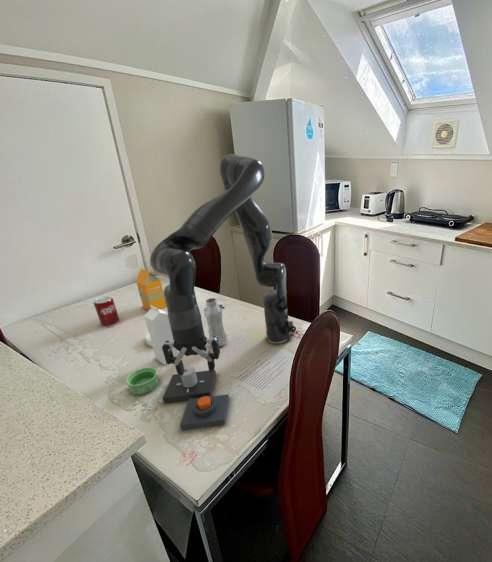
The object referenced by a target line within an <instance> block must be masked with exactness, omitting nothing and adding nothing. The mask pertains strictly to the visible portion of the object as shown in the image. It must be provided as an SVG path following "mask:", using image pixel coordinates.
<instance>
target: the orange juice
mask: <svg viewBox="0 0 492 562" xmlns="http://www.w3.org/2000/svg"><path fill="white" fill-rule="evenodd" d="M135 282H136V286H137V290H138V294H139V297H140V300H141V305H142V307H143V308H144V309H145V310H147V311H149V310H150V309H151V306H150V305H152V306H154V307H155V308H157V309H160V310H163V309H164V308H167V307H166V302H165V298H164V289H163V285H162V280H161V279H159V278H158V277H156V275H154V274H153V273H151V271H149V270H147V269H144V268H140V270H139V272H138V275H137V277H136V280H135Z"/></svg>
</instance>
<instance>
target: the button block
mask: <svg viewBox="0 0 492 562" xmlns="http://www.w3.org/2000/svg"><path fill="white" fill-rule="evenodd" d="M208 397H210V400H211V406H210V407H209V408H207V409H205V410H201V409H199V408H198V403H197V402H198V400H199V399H200V398H194V399H189V400H188V401H187V403H186V406H185V409H184V412H183V415H182V418H181V422H180V424H179V426H180V431H191V430H196V429H197V430H198V429H204V428H212V427H220V426H225V425H226V422H227V416H228V410H229V405H230V395H229V394H227V393H226V394H220V395H211V396H208Z"/></svg>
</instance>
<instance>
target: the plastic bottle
mask: <svg viewBox="0 0 492 562" xmlns="http://www.w3.org/2000/svg"><path fill="white" fill-rule="evenodd" d="M205 306H206V308H205V309H204V313H203V315H204V317H205V320H206V323H207V327H208V334H209V335H208V337H209V338H213V337H214V336H217V337H218V342H219V347H222V346H225V344H226V343H227V341H228V336H227V333H226V332H225V331H226V330H225V328H224V324H223V323H224V322H223V311H222V309H221V307H220V306H219V305H218V302H217V298H214V297H210V298H207V299H206V300H205ZM209 338H208V339H209Z"/></svg>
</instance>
